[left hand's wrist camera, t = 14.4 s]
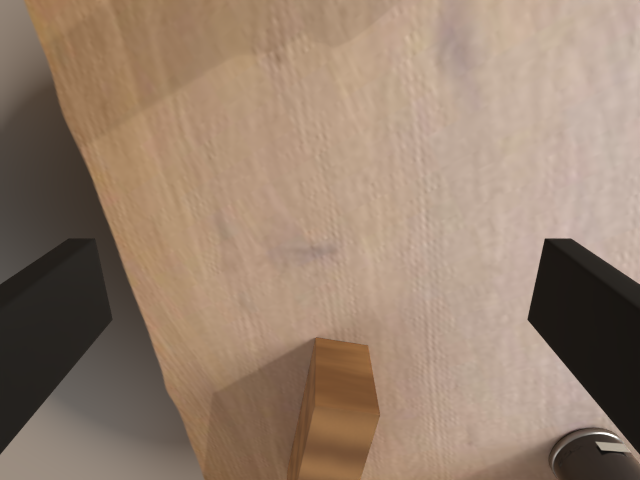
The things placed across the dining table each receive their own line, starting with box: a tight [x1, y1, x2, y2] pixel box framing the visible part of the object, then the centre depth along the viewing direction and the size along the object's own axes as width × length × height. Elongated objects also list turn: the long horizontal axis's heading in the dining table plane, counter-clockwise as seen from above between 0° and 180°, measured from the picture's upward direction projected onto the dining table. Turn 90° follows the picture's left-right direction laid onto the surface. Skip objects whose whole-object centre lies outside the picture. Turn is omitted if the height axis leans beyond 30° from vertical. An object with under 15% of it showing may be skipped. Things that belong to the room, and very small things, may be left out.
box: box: [287, 338, 380, 480], centre depth 48 cm, size 21×6×11 cm, turn 170°
